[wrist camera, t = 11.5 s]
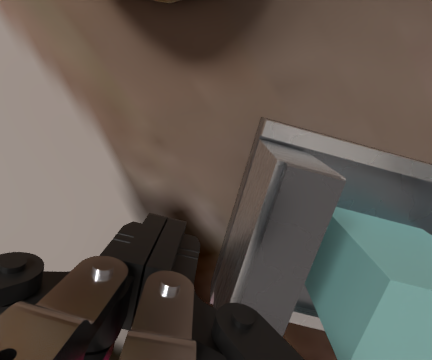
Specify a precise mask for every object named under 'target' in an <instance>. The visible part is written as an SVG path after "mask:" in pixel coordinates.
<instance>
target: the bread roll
mask: <svg viewBox="0 0 432 360" xmlns="http://www.w3.org/2000/svg"><path fill="white" fill-rule="evenodd" d="M155 1H159V2H165V3H173V2H177V1H181V0H155Z"/></svg>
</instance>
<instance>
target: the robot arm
mask: <svg viewBox="0 0 432 360" xmlns="http://www.w3.org/2000/svg"><path fill="white" fill-rule="evenodd" d="M185 227H186V222H185V221H181V220H177V219H173V218H168V217H164V216H160V215H156V214H152V213H149V215H148V216H147V218H146V219H145V221H144V222H143V224H141V223H137V222H131V223H129V224H127V225H124V226H123V227H122V228H121V230H120V231H119V232H118V234H117V235H116V236H115V237H114V239H113V240H112V241H111V242H110V243H109V245H108V246H107V247H106V248H105V250H104V251H103V252H102V253H101V254H100V256H94V257H90V258H87V259H85V260H83V261H82V262H80V263H79V264H78V265H77V266H76V267H75V268H74V269H73V270H72V271H70V272H44V271H43V270H44V262H43V261H42V259H41V258H40V257H38V256H36V255H34V254H30V253H23V252H12V253H5V254H1V255H0V360H108V359H109V357H110V355H111V354H112V351H113V348H114V343H115V341H116V339H117V337H118V335H119V333H120V331H121V329H126V330H129V331H128V334H127V337H126V340H125V343H124V346H123V349H122V352H121V356H120V359H119V360H304V359H303V358H302V357H301V356H300V355H299V354H298V353H297V352H296V351H295V349H294V348H293V347H292V346H291V345H290V344H289V343H288V342H287V341H286V340H285V339H284V338H283V337H282V336H281V335H280V334H279V333H278V332H277V331H276V330H275V329H274V328H273V327H272V326H271V325H270V324H269V323H268V322H267V321H266V320H265V319H264V318H263V317H262V316H261V315H260V314H259V313H258V312H257V311H256V310H254V309H253V308H251V307H249V306H247V305H244V304H241V303H226V304H224V305H222V306H221V307H220V308H219V309H218V310H217V309H215V308H213V307H211V306H209V305H207V304H206V303H204V302H203V301H202V300H201V299H200V298H199V297H198V296H197V295H196V293H195V291H194V279H195V273H196V267H197V261H198V256H199V250H200V243H199V241H198V239H197V237H195V236H191V235H187V234H184V231H185ZM131 327H132V328H131Z"/></svg>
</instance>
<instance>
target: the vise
mask: <svg viewBox="0 0 432 360" xmlns="http://www.w3.org/2000/svg"><path fill="white" fill-rule="evenodd" d="M260 139H262V140H265V141H269V142H273V143H276V144H280V145H284V146H287V147H291V148H295V149H298V150H302V151H306V152H308V153H309V154H311V155H312V156H314V157H315V158H317V159H318V160H320V161H321V162H323V163H324V164H326V165H327V166H329V167H330V168H331V169H333V170H334V171H336V172H337V173H339V174H340V175H342V176H343V177H345V178H346V180H345V181H346V184H345V186H344V188H343V191H342V193H341V196H340V198H339V201H338V203H337V206H336V207H339V208H343V209H347V210H351V211H355V212H358V213H362V214H366V215H370V216H374V217H378V218H382V219H385V220H389V221H393V222H397V223H401V224H405V225H409V226H412V227H416V228H420V229H423V230H424V231H426V232H427V233H429V234H430V235H432V164H430V163H426V162H423V161H419V160H415V159H412V158H408V157H404V156H401V155H397V154H394V153H390V152H386V151H383V150H379V149H375V148H372V147H368V146H365V145H361V144H357V143H354V142H350V141H346V140H343V139H339V138H336V137H332V136H328V135H325V134H321V133H317V132H314V131H310V130H307V129H303V128H299V127H296V126H292V125H288V124H285V123H281V122H277V121H274V120H270V119H267V118H263V117H261V120H260V123H259V126H258V129H257V133H256V136H255V139H254V143H253V146H252V149H251V152H250V156H249V159H248V162H247V166H246V169H245V172H244V175H243V179H242V182H241V185H240V189H239V192H238V195H237V198H236V202H235V205H234V208H233V212H232V215H231V218H230V221H229V225H228V228H227V231H226V235H225V238H224V241H223V245H222V248H221V251H220V254H219V258H218V261H217V264H216V268H215V271H214V274H213V277H212V281H211V293H210V304H213V303H214V285H215V282H216V279H217V276H218V272H219V269H220V266H221V263H222V259H223V256H224V253H225V250H226V246H227V243H228V240H229V237H230V233H231V230H232V227H233V224H234V220H235V217H236V214H237V211H238V208H239V204H240V201H241V198H242V195H243V191H244V188H245V185H246V182H247V178H248V175H249V172H250V169H251V165H252V162H253V159H254V156H255V153H256V149H257V146H258V143H259V140H260ZM289 322H290V323H294V324H298V325H302V326H307V327H311V328H315V329H319V330H323V331H325V330H324V328H323V325H322V323H321V321H320V318H319V316H318V314H317V311H316V309H315V307H314V305H313V302H312V300H311V298H310V295H309V293H308V291H307V288H306V286H305V284H304V286H303V289H302V291H301V293H300V296H299V298H298V301H297V303H296V306H295V308H294V311H293V313H292V315H291V318H290V320H289Z"/></svg>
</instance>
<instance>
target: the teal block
mask: <svg viewBox="0 0 432 360" xmlns="http://www.w3.org/2000/svg"><path fill="white" fill-rule="evenodd" d="M305 286H306V288H307V291H308V293H309V295H310V298H311V300H312V302H313V305H314V307H315V309H316V311H317V314H318V316H319V318H320V321H321V323H322V325H323V328H324V330H325V332H326V334H327V337H328V339H329V341H330V344H331V346H332V348H333V351H334V353H335V355H336V357H337V360H432V235H430V234H429V233H427V232H426V231H424V230H423V229H420V228H416V227H412V226H409V225H405V224H401V223H397V222H393V221H389V220H385V219H382V218H378V217H374V216H370V215H366V214H362V213H358V212H355V211H351V210H347V209H343V208H339V207H336V208H335V210H334V213H333V215H332V218H331V220H330V223H329V225H328V227H327V230H326V232H325V235H324V237H323V240H322V242H321V245H320V247H319V249H318V252H317V254H316V257H315V259H314V262H313V264H312V267H311V269H310V271H309V274H308V276H307V279H306V281H305Z"/></svg>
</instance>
